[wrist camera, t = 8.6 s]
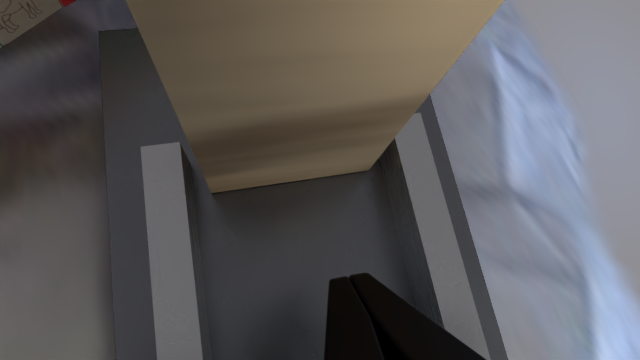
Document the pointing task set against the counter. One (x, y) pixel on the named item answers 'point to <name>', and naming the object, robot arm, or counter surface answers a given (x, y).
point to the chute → (270, 236)
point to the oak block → (300, 78)
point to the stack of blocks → (24, 16)
